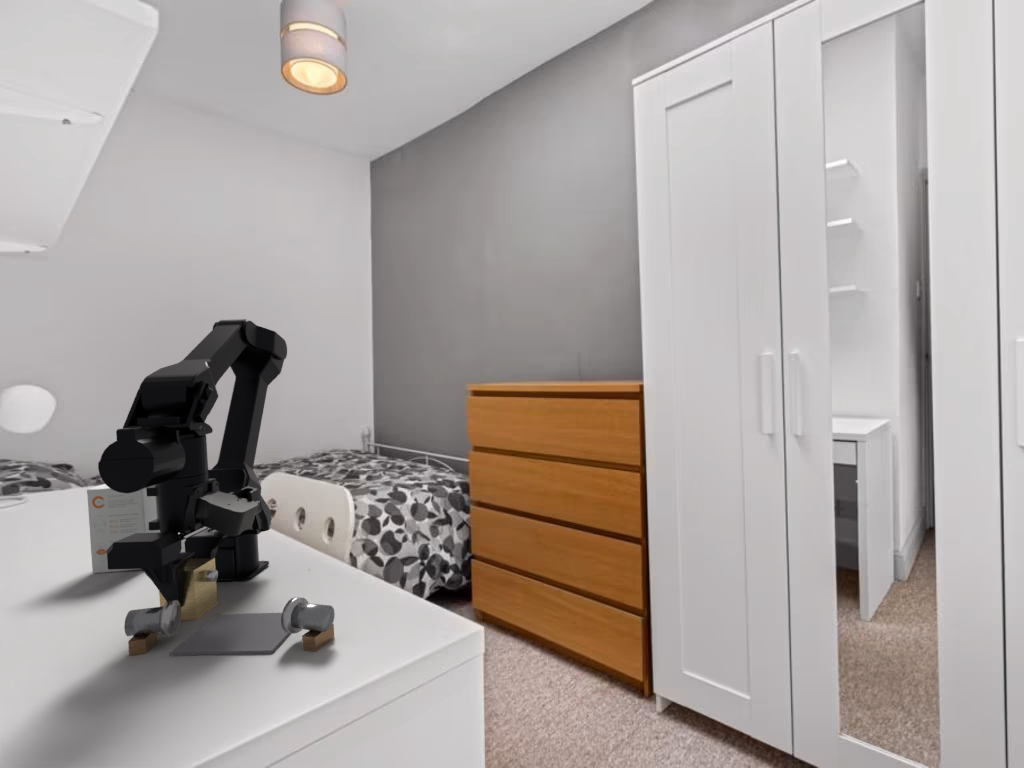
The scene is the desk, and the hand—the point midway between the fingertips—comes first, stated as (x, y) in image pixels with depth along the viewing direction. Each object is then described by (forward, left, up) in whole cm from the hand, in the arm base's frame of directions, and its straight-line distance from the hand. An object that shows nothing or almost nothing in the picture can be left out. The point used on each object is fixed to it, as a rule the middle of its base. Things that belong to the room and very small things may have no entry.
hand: (189, 599), depth 68 cm
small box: (-18, -21, -2) cm, 28 cm away
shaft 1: (+8, +1, -2) cm, 9 cm away
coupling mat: (+6, +10, -2) cm, 12 cm away
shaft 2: (+8, +19, -2) cm, 21 cm away
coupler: (0, 0, -2) cm, 2 cm away
